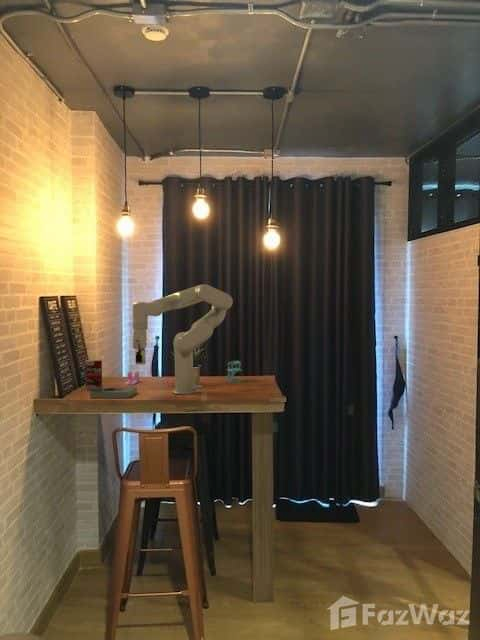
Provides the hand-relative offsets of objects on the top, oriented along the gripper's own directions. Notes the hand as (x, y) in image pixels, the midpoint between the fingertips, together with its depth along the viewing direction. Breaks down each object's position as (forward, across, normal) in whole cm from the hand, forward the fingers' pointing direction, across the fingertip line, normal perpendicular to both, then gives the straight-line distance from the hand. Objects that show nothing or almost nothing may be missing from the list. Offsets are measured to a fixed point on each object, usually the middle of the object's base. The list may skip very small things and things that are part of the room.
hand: (140, 361), depth 262 cm
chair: (+17, -43, +44) cm, 64 cm away
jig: (+18, 0, -14) cm, 23 cm away
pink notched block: (+18, -34, -15) cm, 41 cm away
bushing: (+1, 0, 0) cm, 1 cm away
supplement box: (+18, -18, -31) cm, 40 cm away
